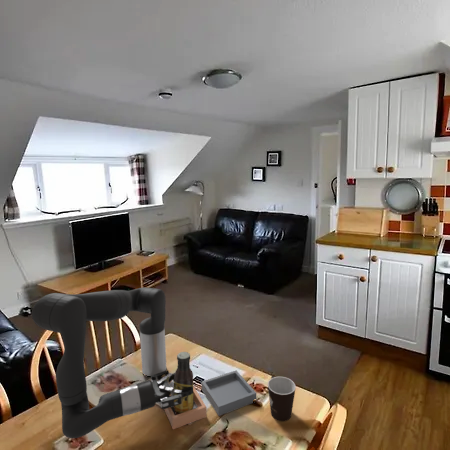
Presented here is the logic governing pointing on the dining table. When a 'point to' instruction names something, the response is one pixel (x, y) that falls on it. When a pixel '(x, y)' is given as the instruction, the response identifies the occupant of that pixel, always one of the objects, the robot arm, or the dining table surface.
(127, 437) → the dining table surface
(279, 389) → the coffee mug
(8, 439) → the dining table surface
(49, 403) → the dining table surface
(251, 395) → the tray
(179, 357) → the sauce bottle
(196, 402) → the holder box
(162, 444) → the dining table surface
